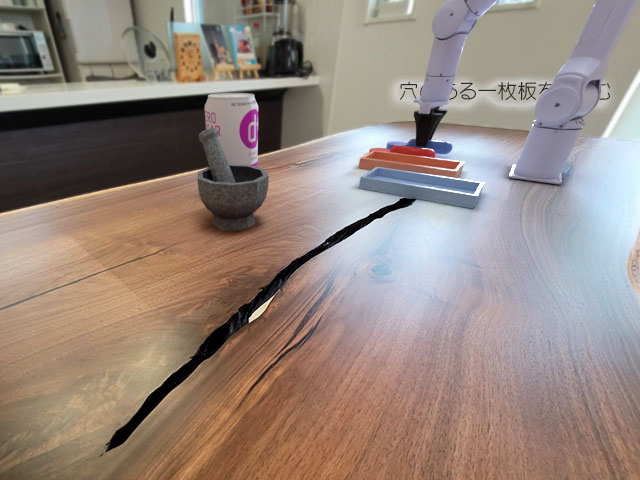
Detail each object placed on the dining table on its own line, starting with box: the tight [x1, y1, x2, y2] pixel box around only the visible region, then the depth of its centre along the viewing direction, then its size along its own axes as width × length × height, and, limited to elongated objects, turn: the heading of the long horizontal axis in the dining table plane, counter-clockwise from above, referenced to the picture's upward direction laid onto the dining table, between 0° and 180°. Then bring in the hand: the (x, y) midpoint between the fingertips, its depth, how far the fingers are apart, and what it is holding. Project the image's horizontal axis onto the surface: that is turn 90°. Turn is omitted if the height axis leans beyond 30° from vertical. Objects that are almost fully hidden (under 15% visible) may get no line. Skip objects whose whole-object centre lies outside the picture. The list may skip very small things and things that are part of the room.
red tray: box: [357, 151, 465, 179], centre depth 73 cm, size 8×18×2 cm, turn 54°
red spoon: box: [368, 145, 436, 158], centre depth 81 cm, size 14×5×3 cm, turn 54°
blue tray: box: [358, 167, 485, 209], centre depth 62 cm, size 8×18×2 cm, turn 54°
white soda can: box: [204, 92, 259, 168], centre depth 58 cm, size 8×8×15 cm
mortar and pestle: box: [197, 128, 270, 232], centre depth 49 cm, size 11×9×12 cm
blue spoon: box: [385, 138, 453, 155], centre depth 83 cm, size 14×5×3 cm, turn 54°
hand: (422, 145), depth 83 cm, fingers closed on blue spoon, 2 cm apart
